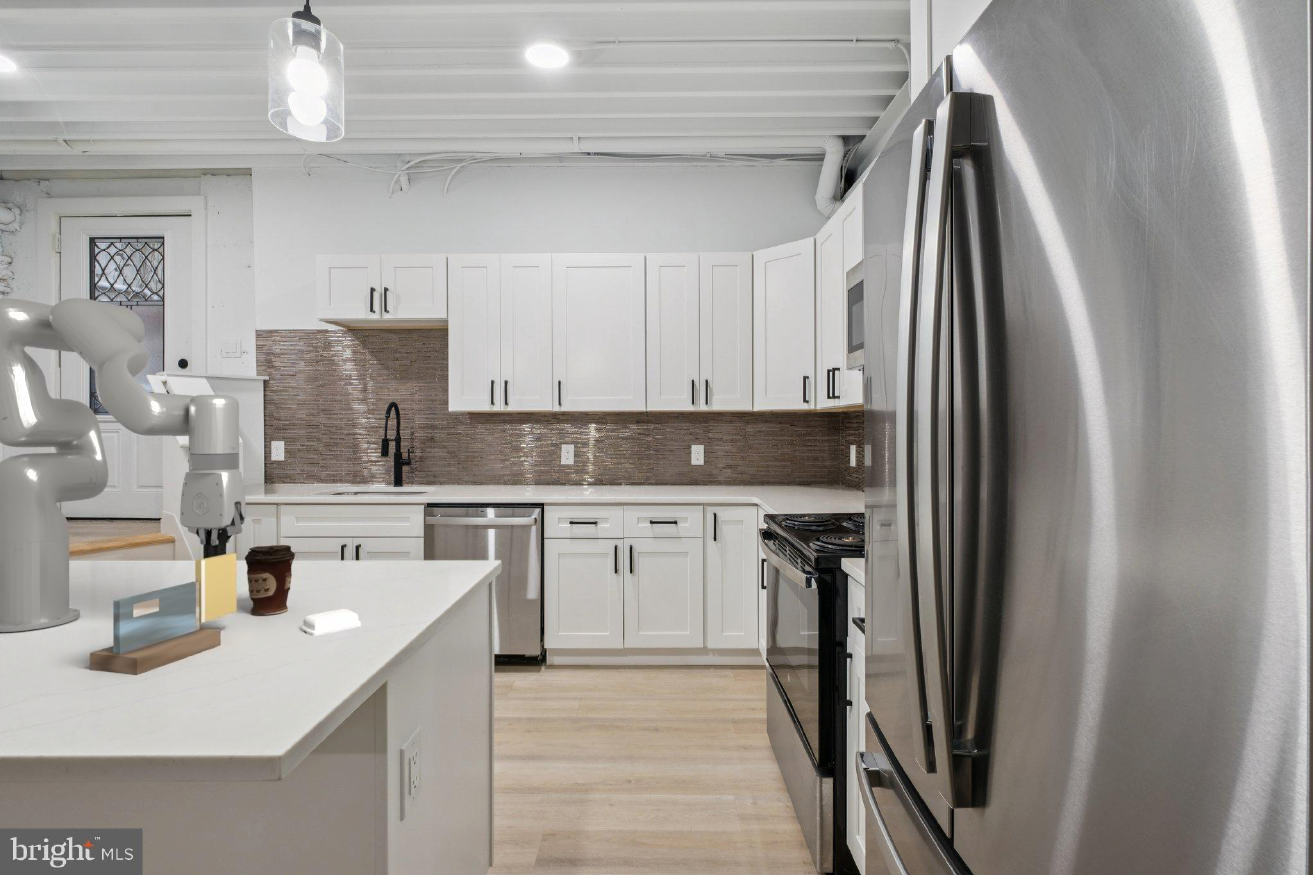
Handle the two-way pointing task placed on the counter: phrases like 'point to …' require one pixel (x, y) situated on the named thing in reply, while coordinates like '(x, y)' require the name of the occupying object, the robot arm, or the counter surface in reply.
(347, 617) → the soap
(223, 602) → the yellow flat slab
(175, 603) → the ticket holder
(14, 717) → the counter surface
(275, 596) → the coffee cup
